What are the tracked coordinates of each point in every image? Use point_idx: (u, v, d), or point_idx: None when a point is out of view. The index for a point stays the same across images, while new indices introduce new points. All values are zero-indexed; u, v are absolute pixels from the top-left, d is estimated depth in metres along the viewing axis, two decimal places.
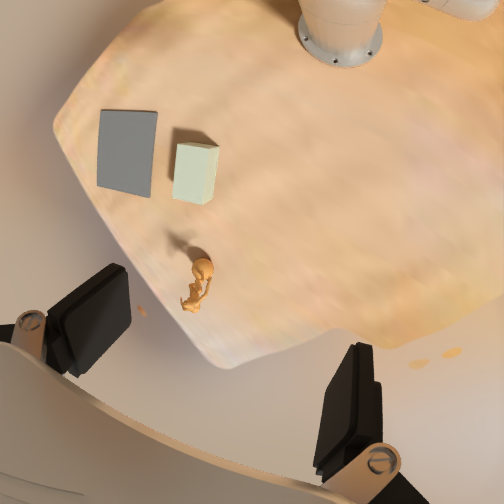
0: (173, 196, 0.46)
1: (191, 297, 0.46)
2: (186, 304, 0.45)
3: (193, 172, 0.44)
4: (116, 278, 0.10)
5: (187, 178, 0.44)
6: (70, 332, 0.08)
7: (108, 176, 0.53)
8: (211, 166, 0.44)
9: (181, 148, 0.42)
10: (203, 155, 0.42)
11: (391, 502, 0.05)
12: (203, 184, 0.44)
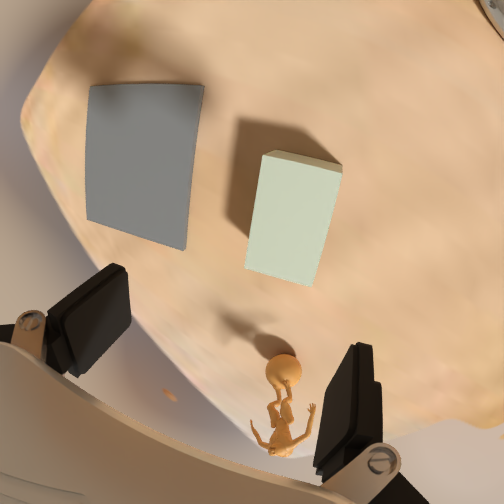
0: (247, 265, 0.23)
1: (280, 437, 0.23)
2: (274, 452, 0.22)
3: (298, 221, 0.20)
4: (116, 278, 0.10)
5: (282, 233, 0.21)
6: (70, 332, 0.08)
7: (105, 205, 0.30)
8: None
9: (272, 166, 0.19)
10: (327, 187, 0.19)
11: (391, 502, 0.05)
12: (319, 248, 0.21)
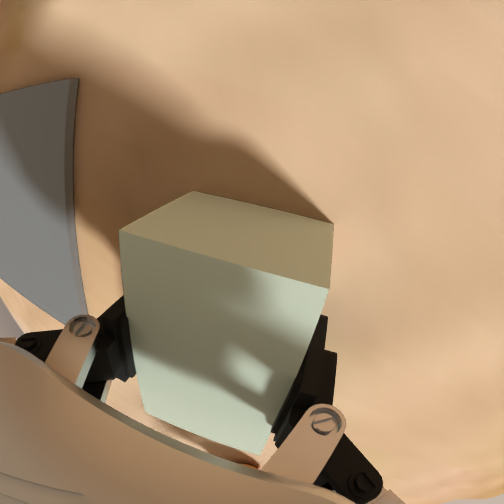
0: (148, 411, 0.11)
1: None
2: None
3: (220, 377, 0.08)
4: None
5: (191, 387, 0.09)
6: (125, 336, 0.09)
7: (4, 261, 0.18)
8: None
9: (143, 259, 0.07)
10: (283, 320, 0.07)
11: (336, 466, 0.06)
12: (270, 419, 0.09)
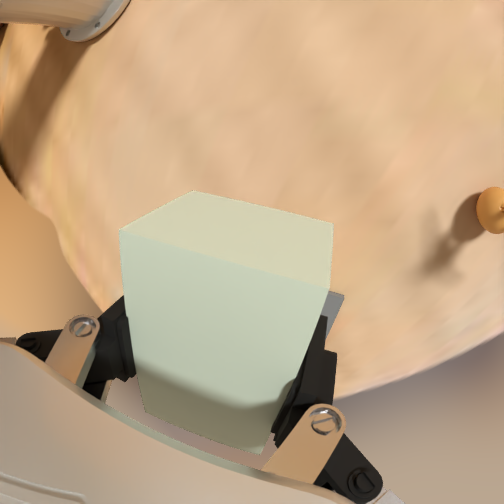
0: (148, 410, 0.11)
1: None
2: None
3: (220, 377, 0.08)
4: None
5: (191, 387, 0.09)
6: (125, 336, 0.09)
7: None
8: None
9: (143, 258, 0.07)
10: (283, 319, 0.07)
11: (336, 466, 0.06)
12: (270, 419, 0.09)
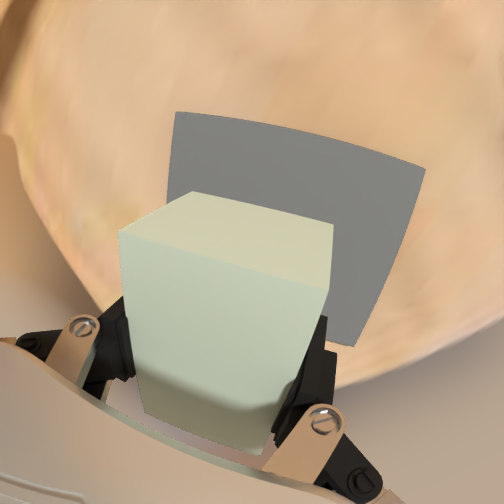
0: (148, 411, 0.11)
1: None
2: None
3: (220, 378, 0.08)
4: None
5: (191, 388, 0.09)
6: (125, 336, 0.09)
7: (338, 303, 0.20)
8: None
9: (142, 259, 0.07)
10: (283, 321, 0.07)
11: (336, 466, 0.06)
12: (269, 420, 0.09)
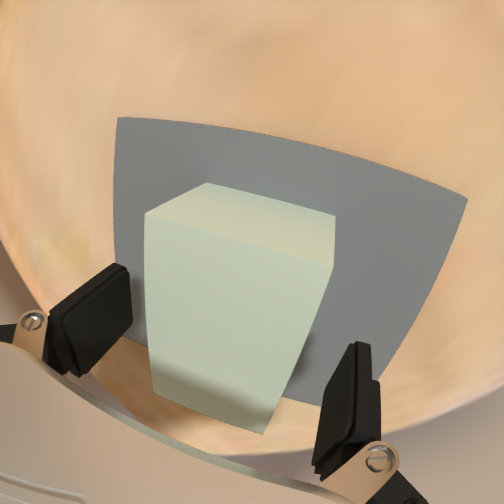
0: (156, 391, 0.12)
1: None
2: None
3: (231, 352, 0.09)
4: (118, 278, 0.10)
5: (202, 364, 0.10)
6: (72, 332, 0.08)
7: None
8: None
9: (166, 240, 0.08)
10: (292, 295, 0.08)
11: (389, 500, 0.05)
12: (275, 395, 0.10)
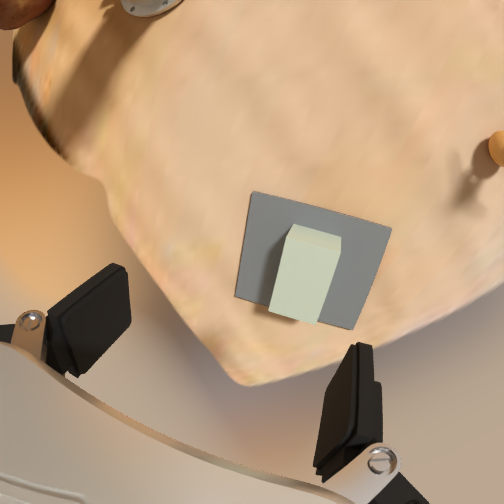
0: (270, 309, 0.32)
1: None
2: None
3: (308, 282, 0.29)
4: (116, 278, 0.10)
5: (297, 289, 0.30)
6: (70, 332, 0.08)
7: (342, 303, 0.34)
8: None
9: (292, 245, 0.28)
10: (329, 260, 0.28)
11: (391, 502, 0.05)
12: (322, 300, 0.30)
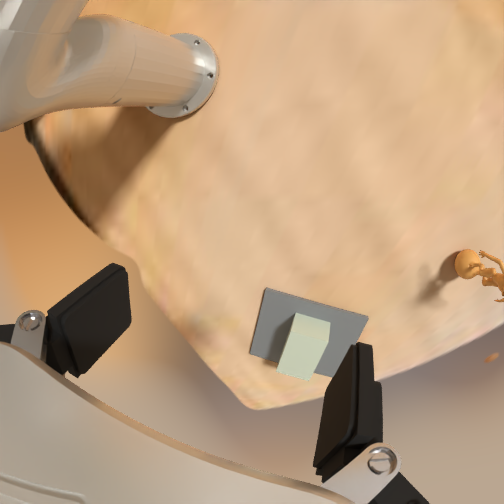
0: (277, 371, 0.43)
1: (499, 283, 0.23)
2: None
3: (305, 357, 0.40)
4: (116, 278, 0.10)
5: (296, 360, 0.41)
6: (70, 332, 0.08)
7: (329, 362, 0.45)
8: None
9: (295, 336, 0.39)
10: (320, 346, 0.39)
11: (391, 502, 0.05)
12: (314, 367, 0.41)
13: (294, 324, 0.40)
